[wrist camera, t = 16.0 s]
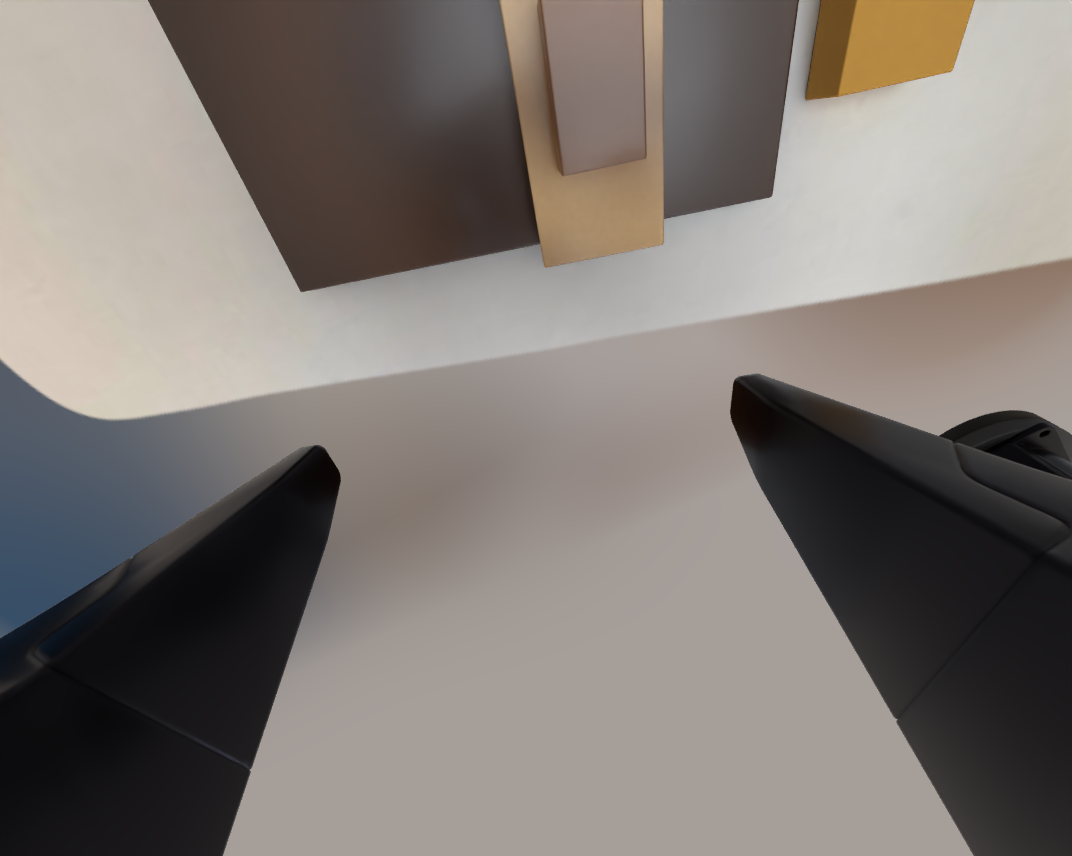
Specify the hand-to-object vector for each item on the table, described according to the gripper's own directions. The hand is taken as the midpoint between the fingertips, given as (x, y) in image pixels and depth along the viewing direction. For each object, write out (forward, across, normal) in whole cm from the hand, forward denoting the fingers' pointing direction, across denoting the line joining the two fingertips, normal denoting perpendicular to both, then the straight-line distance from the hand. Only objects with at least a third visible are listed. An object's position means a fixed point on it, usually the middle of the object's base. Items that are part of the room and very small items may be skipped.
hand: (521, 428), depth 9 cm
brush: (+11, -3, -6) cm, 13 cm away
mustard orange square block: (+12, -13, -6) cm, 19 cm away
